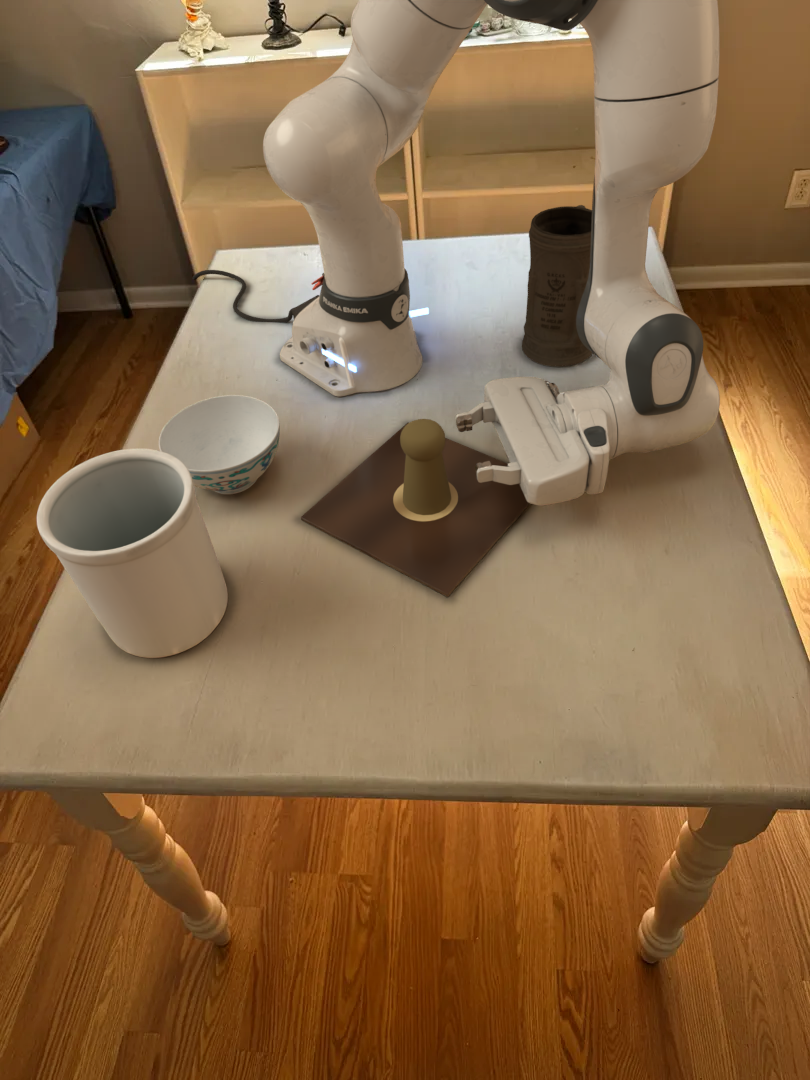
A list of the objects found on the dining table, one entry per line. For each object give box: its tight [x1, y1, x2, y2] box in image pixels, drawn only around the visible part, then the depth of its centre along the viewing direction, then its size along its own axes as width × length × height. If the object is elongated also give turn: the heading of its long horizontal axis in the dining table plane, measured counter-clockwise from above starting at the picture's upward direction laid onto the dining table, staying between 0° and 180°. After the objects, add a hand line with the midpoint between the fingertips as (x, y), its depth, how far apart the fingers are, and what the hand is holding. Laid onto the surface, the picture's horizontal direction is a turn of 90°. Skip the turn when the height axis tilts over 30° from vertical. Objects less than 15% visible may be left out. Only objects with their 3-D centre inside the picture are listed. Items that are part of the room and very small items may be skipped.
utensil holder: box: [36, 447, 229, 659], centre depth 82 cm, size 15×15×18 cm
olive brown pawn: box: [400, 418, 451, 515], centre depth 93 cm, size 6×6×11 cm
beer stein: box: [521, 204, 593, 368], centre depth 113 cm, size 15×11×20 cm
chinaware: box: [158, 394, 281, 495], centre depth 100 cm, size 15×15×8 cm
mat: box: [300, 422, 531, 598], centre depth 97 cm, size 22×22×1 cm
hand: (466, 447), depth 92 cm, fingers open, 8 cm apart
